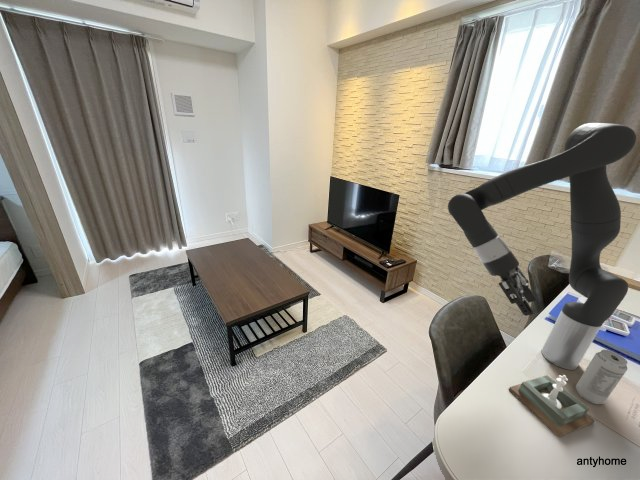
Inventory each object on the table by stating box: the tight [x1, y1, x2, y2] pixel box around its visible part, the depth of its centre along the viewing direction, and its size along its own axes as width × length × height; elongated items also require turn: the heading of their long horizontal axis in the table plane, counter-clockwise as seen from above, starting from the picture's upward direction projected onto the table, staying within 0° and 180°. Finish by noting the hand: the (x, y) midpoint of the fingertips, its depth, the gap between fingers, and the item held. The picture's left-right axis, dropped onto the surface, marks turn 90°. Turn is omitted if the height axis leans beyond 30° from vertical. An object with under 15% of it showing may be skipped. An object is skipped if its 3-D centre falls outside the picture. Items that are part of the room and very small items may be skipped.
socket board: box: [508, 374, 595, 438], centre depth 69 cm, size 13×13×4 cm
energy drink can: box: [575, 349, 628, 405], centre depth 71 cm, size 6×6×15 cm
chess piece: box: [541, 374, 569, 410], centre depth 68 cm, size 5×5×10 cm
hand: (531, 307), depth 69 cm, fingers open, 8 cm apart
